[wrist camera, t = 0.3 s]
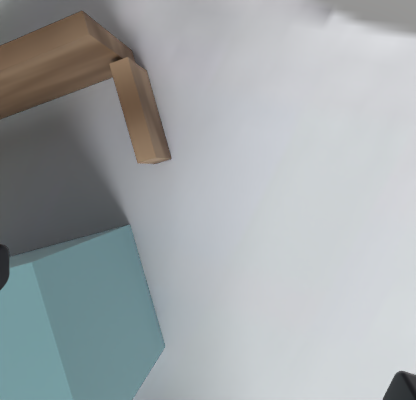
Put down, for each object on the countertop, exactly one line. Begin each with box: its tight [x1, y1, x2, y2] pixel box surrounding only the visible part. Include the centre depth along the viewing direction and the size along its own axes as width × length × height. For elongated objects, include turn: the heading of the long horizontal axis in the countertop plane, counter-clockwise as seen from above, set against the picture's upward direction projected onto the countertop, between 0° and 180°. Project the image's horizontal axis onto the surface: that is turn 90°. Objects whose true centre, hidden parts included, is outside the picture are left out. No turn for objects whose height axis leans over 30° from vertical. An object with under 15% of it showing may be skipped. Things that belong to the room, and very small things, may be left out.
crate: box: [0, 224, 165, 400], centre depth 21 cm, size 9×12×10 cm
